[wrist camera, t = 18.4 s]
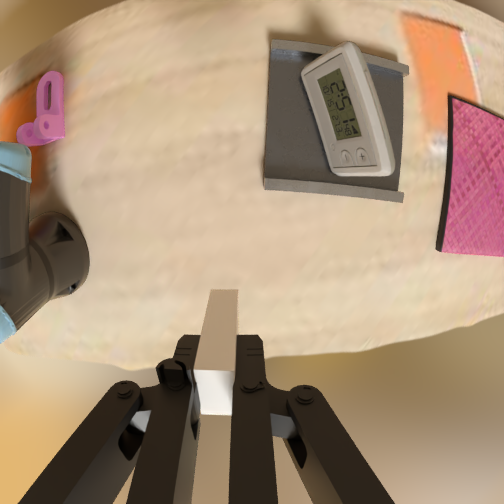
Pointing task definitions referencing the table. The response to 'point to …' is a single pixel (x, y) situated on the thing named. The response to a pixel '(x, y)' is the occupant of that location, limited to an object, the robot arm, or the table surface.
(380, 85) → the rail plate
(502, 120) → the laptop bag
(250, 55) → the table surface
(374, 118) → the digital clock
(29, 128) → the bracket
